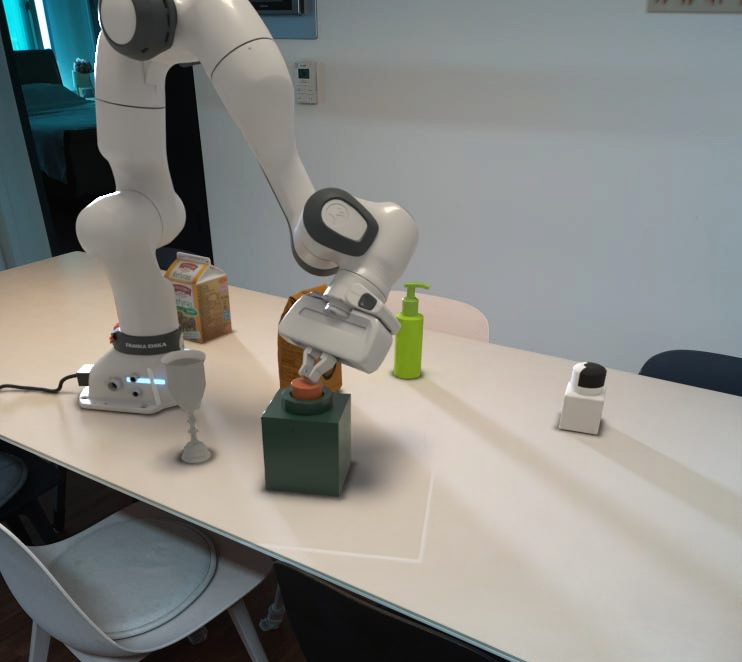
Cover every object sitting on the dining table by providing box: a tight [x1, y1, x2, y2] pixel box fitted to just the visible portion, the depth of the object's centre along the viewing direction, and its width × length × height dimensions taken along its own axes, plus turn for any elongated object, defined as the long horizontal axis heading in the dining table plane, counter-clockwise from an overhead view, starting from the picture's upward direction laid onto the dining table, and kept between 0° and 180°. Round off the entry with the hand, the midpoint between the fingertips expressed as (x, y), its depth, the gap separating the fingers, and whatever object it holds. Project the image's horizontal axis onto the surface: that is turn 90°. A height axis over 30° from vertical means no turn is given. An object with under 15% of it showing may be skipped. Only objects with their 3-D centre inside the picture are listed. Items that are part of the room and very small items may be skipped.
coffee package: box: [276, 283, 343, 393], centre depth 142 cm, size 10×12×22 cm
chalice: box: [161, 349, 212, 464], centre depth 121 cm, size 7×7×18 cm
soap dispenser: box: [393, 281, 432, 380], centre depth 154 cm, size 6×7×20 cm
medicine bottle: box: [558, 361, 608, 435], centre depth 136 cm, size 7×7×12 cm
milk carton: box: [163, 251, 233, 344], centre depth 174 cm, size 11×11×19 cm
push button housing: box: [260, 386, 352, 497], centre depth 116 cm, size 12×11×15 cm
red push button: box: [291, 377, 323, 400], centre depth 112 cm, size 5×5×3 cm
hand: (306, 378), depth 111 cm, fingers closed, pressing on red push button
